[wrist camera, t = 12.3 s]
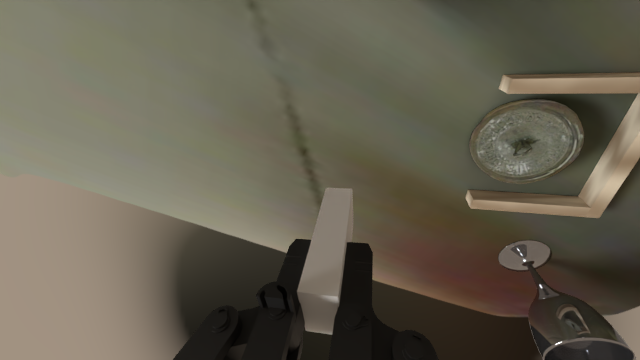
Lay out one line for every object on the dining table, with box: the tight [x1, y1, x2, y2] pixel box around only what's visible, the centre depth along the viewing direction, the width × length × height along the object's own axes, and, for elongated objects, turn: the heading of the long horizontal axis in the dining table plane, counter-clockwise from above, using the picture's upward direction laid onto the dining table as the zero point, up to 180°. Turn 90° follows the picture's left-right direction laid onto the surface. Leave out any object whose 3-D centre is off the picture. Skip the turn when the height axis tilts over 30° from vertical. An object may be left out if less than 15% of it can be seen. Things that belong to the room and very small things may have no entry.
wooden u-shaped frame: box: [466, 72, 640, 218], centre depth 30 cm, size 17×15×2 cm
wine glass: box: [498, 240, 636, 360], centre depth 34 cm, size 8×8×15 cm
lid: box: [469, 99, 585, 184], centre depth 30 cm, size 11×10×5 cm
